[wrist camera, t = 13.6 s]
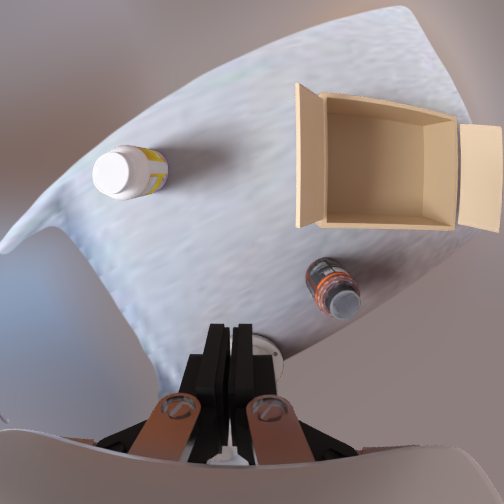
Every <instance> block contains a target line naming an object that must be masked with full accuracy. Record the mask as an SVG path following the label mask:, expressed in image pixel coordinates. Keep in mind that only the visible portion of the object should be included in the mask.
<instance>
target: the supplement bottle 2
mask: <svg viewBox="0 0 504 504" xmlns="http://www.w3.org/2000/svg"><path fill="white" fill-rule="evenodd" d="M305 279H306V284H307V287H308V288H309V290H310V292H311V294H312V296H313V298H314V300H315V302H316V303H317V305H318V307H319V309H320V310H321V311H322V312H323V313H324V314H326V315H328V316H330V317H335V318H336V319H339V320H347V319H350V318H352V317H353V316H354V315H355V314H356V313H357V312H358V310H359V308H360V304H361V301H360V289H359V286H358V284H357V282H356V281H355V280H354V279H353V278H352V277H351V276H350V275H349V274H348V273H347V272H346V271H345V270H344V269H343V268H342V267H341V266H340V265H339V264H338V263H337V262H336V261H334V260H332V259H329V258H323V259H318V260H316V261H315V262H313V263H312V264H311V265H310V266H309V268H308V270H307V272H306V277H305Z"/></svg>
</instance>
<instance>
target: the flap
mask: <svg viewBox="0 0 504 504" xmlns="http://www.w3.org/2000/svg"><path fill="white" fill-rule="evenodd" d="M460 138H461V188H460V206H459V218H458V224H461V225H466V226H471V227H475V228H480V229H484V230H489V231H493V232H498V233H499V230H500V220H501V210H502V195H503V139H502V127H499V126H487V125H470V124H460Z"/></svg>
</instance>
